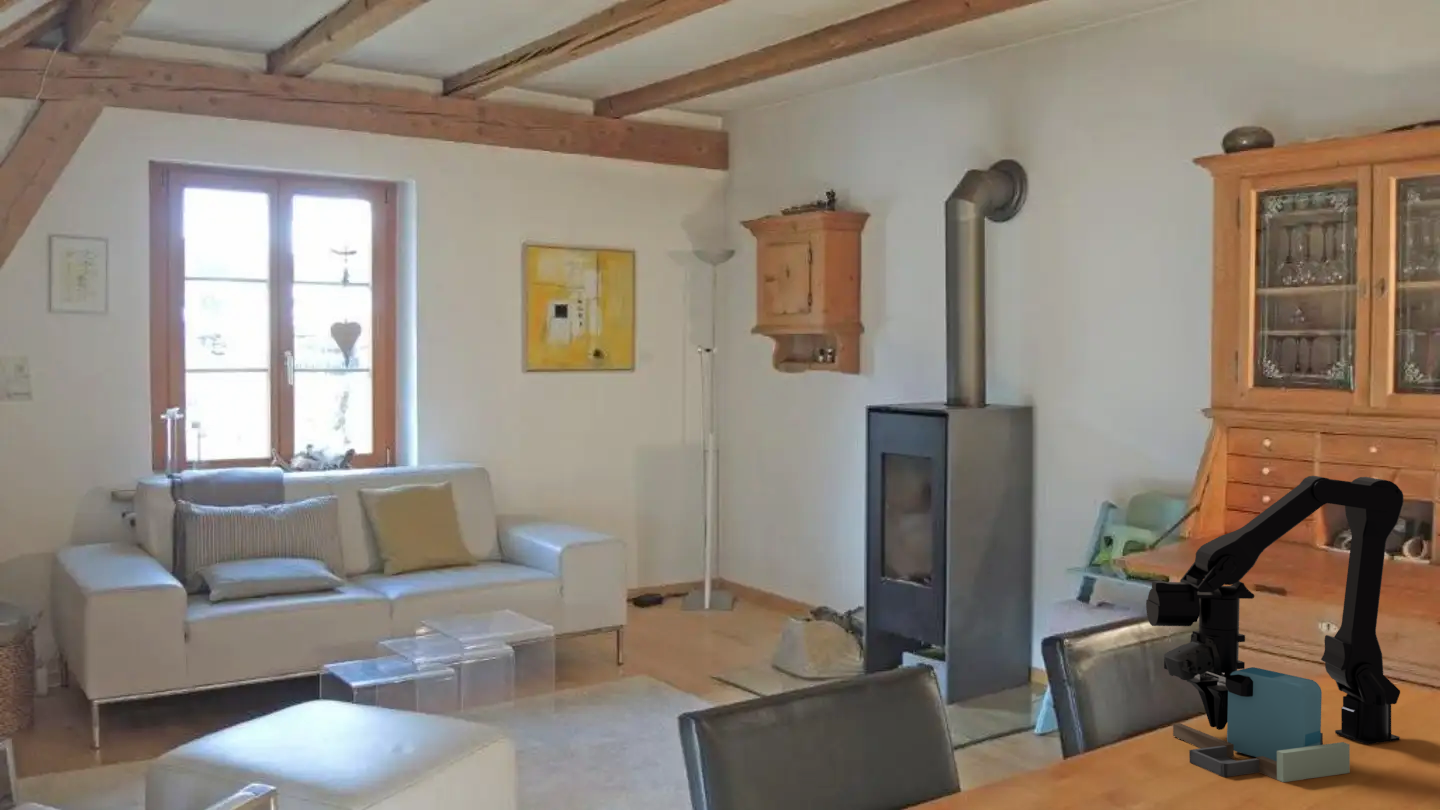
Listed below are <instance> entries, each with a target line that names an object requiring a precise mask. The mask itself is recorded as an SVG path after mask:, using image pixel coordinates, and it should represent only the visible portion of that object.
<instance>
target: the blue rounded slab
mask: <svg viewBox="0 0 1440 810" xmlns="http://www.w3.org/2000/svg"><path fill="white" fill-rule="evenodd" d="M1237 674H1239V675H1243V676H1248V677H1250V678H1251V679H1252V681H1253V696H1251V697H1243V696H1239V695H1236V694H1233V693H1231V692H1229V691H1228V719H1227V724H1226V725H1227V727H1226V728H1227V729H1226V731H1227V732H1226V733H1227V734H1226V740H1227V741H1226V742H1229V743H1231V744H1234V752H1236V753H1240V754H1244V755H1247V756H1250V757H1254V758H1256V757H1260V756H1264V757H1267V758H1269V759H1272V760H1274V761H1277V751H1279V750H1287V749H1294V748H1302V747H1309V746H1317V745H1320V738H1321V733H1322V731H1321V729H1322V698H1323V697H1322V693H1323V692H1322V688H1321V686H1320V685H1319V683H1318V682H1317V681H1315V680H1313V679H1310V678H1306V677H1301V676H1295V675H1291V674H1288V673H1282V672H1278V671H1274V670H1273V671H1272V670H1268V669H1264V668H1259V667H1255V666H1253V667H1247V668H1244V669H1237V671H1234V672H1232V673H1231V674H1230V675H1237Z"/></svg>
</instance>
